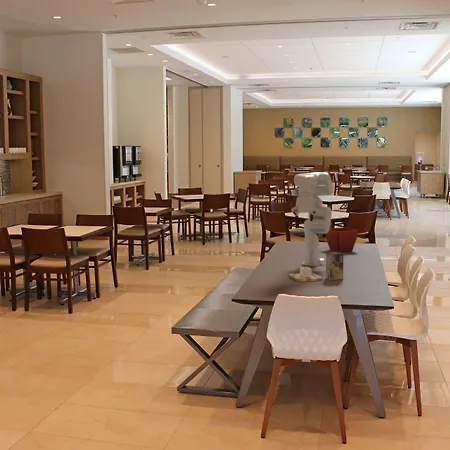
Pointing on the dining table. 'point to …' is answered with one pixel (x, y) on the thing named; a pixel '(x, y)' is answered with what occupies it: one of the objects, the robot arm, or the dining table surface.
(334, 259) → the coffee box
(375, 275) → the dining table surface
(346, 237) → the plant pot
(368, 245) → the dining table surface
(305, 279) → the pin plate
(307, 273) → the jaw block
